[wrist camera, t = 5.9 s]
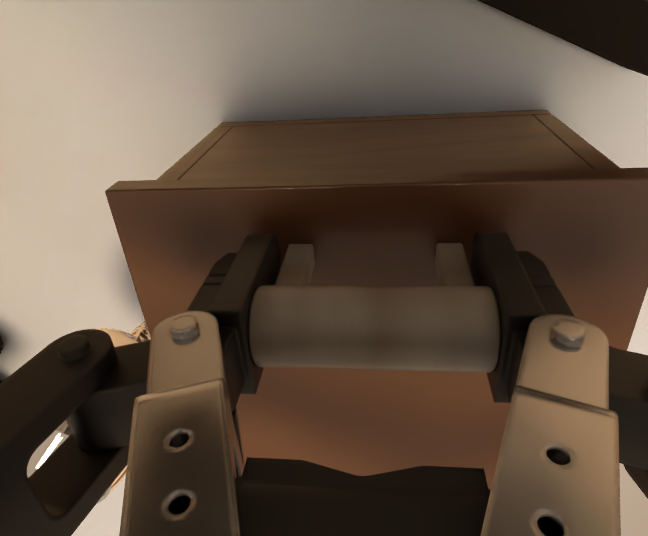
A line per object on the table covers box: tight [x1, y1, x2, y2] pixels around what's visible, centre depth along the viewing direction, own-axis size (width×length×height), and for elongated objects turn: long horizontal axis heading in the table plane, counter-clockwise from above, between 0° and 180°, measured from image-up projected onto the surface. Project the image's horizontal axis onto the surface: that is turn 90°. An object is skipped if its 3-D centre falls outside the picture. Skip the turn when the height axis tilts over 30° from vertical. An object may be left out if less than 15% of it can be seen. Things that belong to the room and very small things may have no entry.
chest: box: [157, 110, 620, 180], centre depth 21 cm, size 16×15×10 cm
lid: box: [105, 168, 648, 489], centre depth 15 cm, size 16×15×5 cm
